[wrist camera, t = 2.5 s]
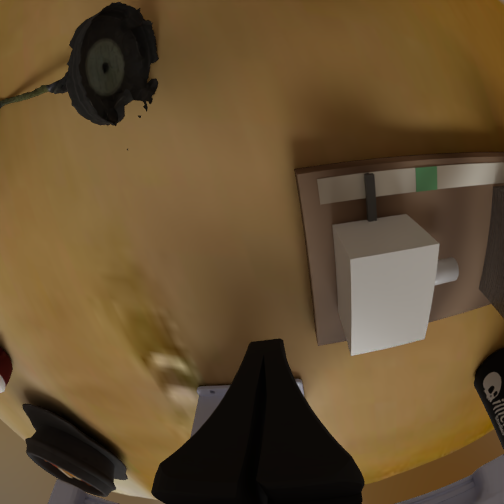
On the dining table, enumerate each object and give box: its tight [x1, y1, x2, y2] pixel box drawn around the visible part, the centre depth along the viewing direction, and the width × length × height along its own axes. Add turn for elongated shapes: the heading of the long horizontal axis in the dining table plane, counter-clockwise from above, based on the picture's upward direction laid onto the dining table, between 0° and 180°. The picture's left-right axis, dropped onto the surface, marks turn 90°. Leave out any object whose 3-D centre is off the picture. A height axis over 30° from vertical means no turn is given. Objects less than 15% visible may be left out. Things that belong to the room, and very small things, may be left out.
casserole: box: [23, 404, 128, 497], centre depth 33 cm, size 25×19×8 cm
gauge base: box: [294, 152, 504, 346], centre depth 17 cm, size 18×12×2 cm, turn 101°
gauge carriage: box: [332, 173, 459, 356], centre depth 14 cm, size 7×9×4 cm
